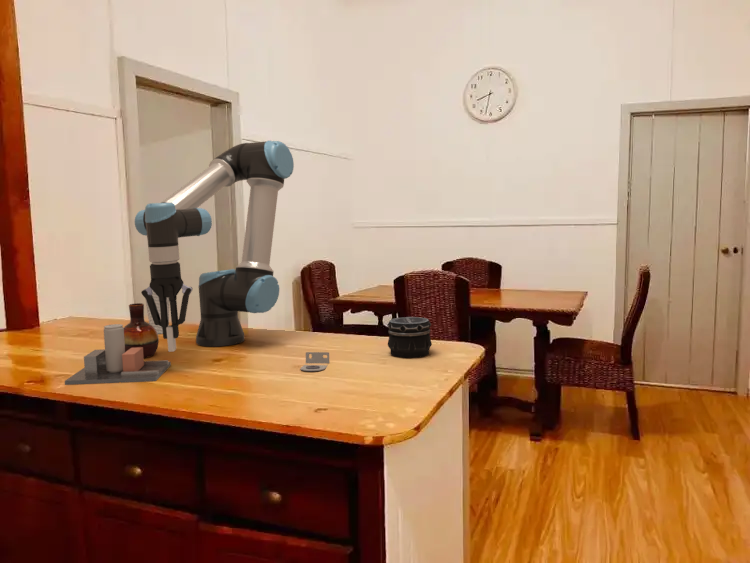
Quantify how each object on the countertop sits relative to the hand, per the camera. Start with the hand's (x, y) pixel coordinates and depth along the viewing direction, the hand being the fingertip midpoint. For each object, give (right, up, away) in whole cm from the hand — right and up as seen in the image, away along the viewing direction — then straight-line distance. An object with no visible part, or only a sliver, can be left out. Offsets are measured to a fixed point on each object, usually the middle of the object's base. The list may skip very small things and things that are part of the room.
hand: (172, 350), depth 168 cm
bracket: (+38, -5, +2) cm, 38 cm away
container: (+64, -3, +15) cm, 66 cm away
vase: (-16, -4, +18) cm, 24 cm away
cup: (-21, 0, +53) cm, 57 cm away
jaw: (-9, -5, -2) cm, 11 cm away
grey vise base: (-14, -6, -3) cm, 15 cm away
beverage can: (-14, -5, -3) cm, 15 cm away
